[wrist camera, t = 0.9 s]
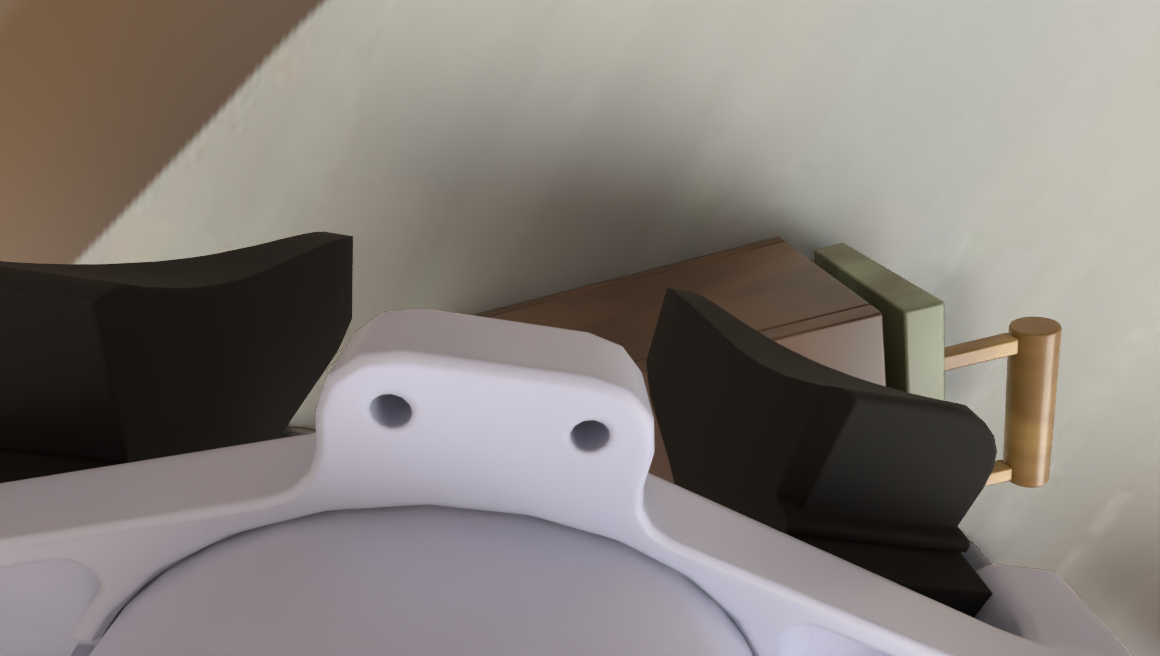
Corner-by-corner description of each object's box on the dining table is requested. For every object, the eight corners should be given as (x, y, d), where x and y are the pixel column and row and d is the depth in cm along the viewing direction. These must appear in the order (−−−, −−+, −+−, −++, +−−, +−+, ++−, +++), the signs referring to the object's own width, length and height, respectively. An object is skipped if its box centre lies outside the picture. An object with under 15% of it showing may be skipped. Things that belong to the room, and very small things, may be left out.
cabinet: (779, 236, 24) (883, 312, 16) (810, 489, 29) (900, 638, 21) (446, 321, 25) (392, 431, 17) (534, 550, 30) (524, 713, 22)
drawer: (968, 209, 22) (1120, 259, 16) (965, 458, 27) (1082, 568, 21) (520, 323, 24) (505, 408, 18) (592, 540, 29) (600, 666, 23)
